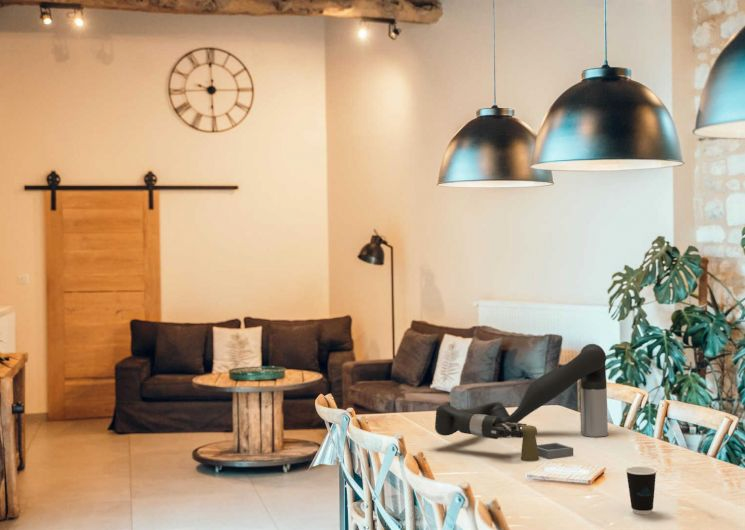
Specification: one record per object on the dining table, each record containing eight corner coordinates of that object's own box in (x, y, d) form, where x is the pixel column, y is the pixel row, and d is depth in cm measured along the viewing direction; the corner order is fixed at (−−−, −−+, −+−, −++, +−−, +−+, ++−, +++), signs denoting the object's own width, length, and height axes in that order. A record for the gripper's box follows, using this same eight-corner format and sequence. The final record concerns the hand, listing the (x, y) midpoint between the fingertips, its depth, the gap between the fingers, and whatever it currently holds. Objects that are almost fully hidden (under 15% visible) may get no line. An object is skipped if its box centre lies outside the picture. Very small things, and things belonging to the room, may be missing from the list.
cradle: (531, 453, 323) (531, 445, 323) (556, 450, 327) (556, 442, 327) (547, 459, 314) (547, 451, 314) (573, 455, 318) (573, 447, 318)
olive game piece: (517, 459, 315) (516, 426, 314) (527, 456, 319) (526, 423, 319) (532, 462, 310) (531, 428, 310) (542, 458, 315) (541, 425, 315)
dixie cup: (644, 517, 243) (643, 474, 243) (620, 511, 250) (618, 469, 249) (664, 512, 248) (663, 470, 248) (639, 506, 254) (638, 464, 254)
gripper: (496, 434, 329) (538, 440, 320) (474, 440, 318) (517, 447, 308) (497, 412, 329) (539, 418, 319) (475, 418, 318) (518, 424, 308)
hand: (528, 432), depth 314 cm, fingers open, 8 cm apart
